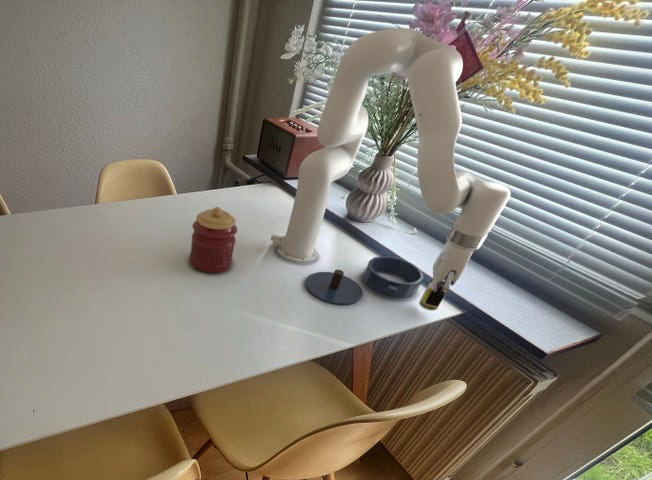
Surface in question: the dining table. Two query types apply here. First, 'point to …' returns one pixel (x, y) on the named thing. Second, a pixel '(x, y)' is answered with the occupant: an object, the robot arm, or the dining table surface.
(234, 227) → the kitchen canister
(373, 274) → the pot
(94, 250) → the dining table surface
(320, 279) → the pot lid
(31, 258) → the dining table surface
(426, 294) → the supplement bottle
